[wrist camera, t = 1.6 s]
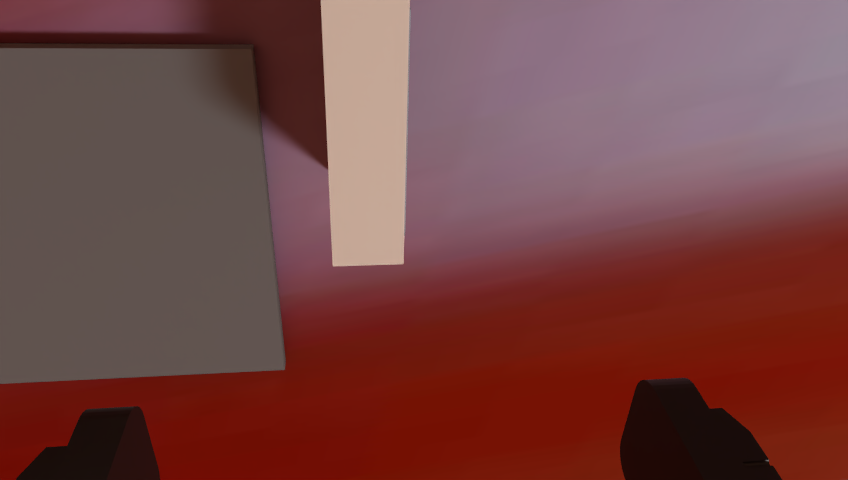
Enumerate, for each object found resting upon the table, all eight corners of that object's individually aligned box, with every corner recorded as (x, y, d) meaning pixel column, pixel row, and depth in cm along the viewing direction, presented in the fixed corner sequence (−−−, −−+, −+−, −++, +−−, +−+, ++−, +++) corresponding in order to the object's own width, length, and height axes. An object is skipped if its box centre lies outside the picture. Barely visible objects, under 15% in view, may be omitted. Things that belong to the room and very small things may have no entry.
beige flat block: (324, -55, 23) (320, -13, 18) (395, -54, 24) (413, -12, 18) (333, 173, 28) (332, 266, 22) (392, 172, 29) (406, 263, 23)
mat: (-153, 42, 23) (-163, 47, 23) (253, 44, 25) (251, 48, 24) (-10, 375, 32) (-16, 384, 31) (285, 361, 33) (284, 369, 33)
